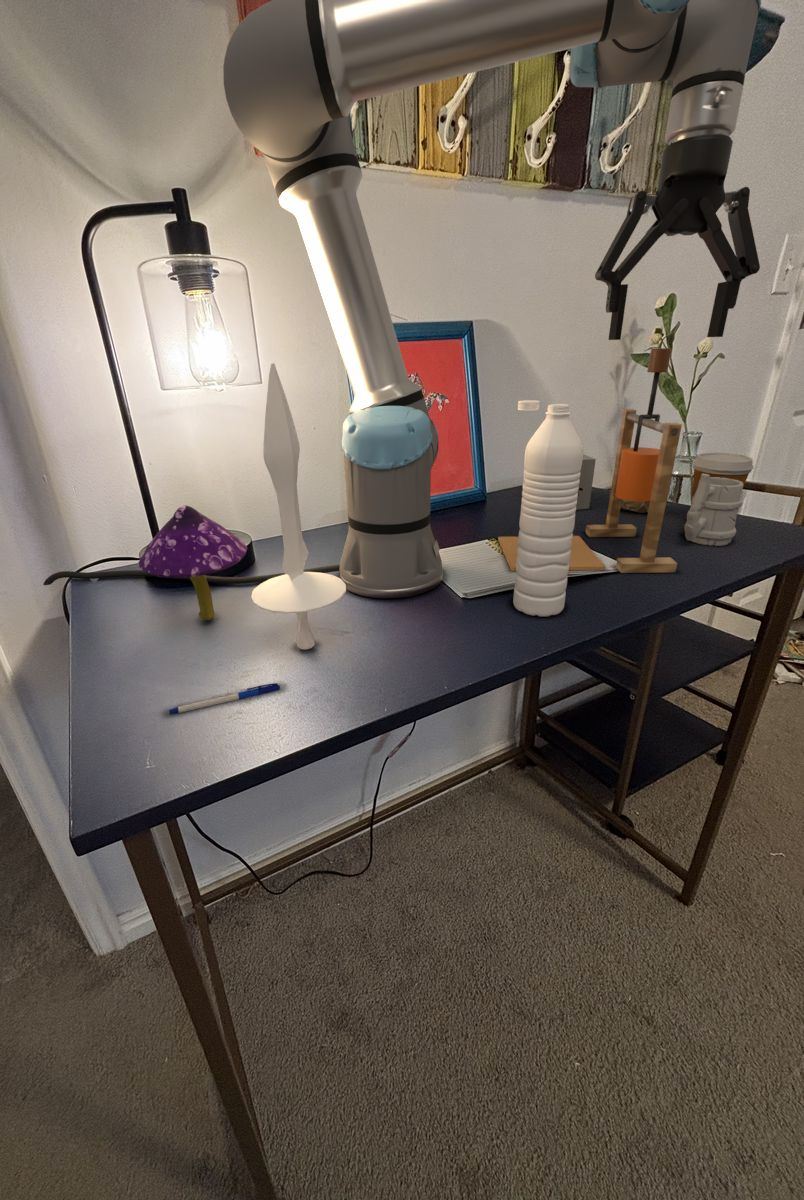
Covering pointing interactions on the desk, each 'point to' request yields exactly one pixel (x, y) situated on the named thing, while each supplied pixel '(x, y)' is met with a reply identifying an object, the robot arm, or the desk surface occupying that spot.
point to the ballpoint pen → (227, 698)
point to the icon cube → (585, 482)
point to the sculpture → (290, 524)
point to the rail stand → (657, 501)
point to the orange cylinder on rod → (639, 460)
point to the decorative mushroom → (192, 552)
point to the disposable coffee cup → (721, 467)
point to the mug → (714, 511)
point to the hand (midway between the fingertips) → (664, 338)
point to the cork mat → (578, 560)
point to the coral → (635, 506)
